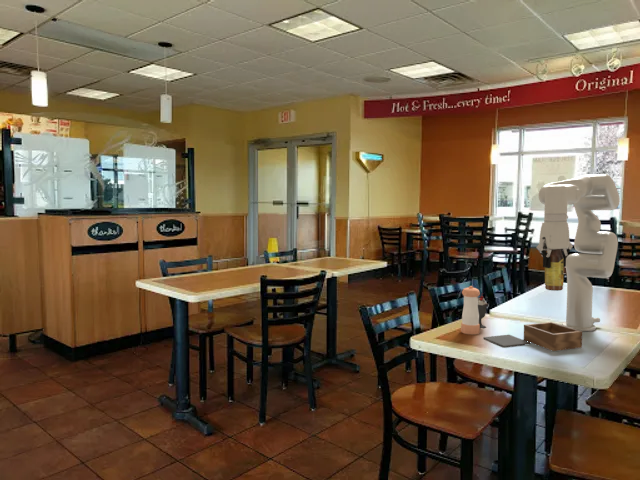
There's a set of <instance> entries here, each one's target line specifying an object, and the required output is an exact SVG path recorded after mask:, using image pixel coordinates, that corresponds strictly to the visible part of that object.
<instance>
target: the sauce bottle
mask: <svg viewBox="0 0 640 480" xmlns="http://www.w3.org/2000/svg"><path fill="white" fill-rule="evenodd" d="M549 257H551V267H550V268H545V267H544V285H545V286H544V287H545V290H548V291H554V292H555V291H563V289H564V269H565V267H563V261H564V260H563V259H564V258H563V255H562V252H561V249H557V250H552V251H551V253H550V256H549Z"/></svg>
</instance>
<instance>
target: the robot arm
mask: <svg viewBox="0 0 640 480" xmlns="http://www.w3.org/2000/svg"><path fill="white" fill-rule="evenodd" d="M538 200H539V202H540V204H542V205H544V211H543V212H544V214H543V215H544V217H543V219H544V220H543V221H544V222H541V226H540V231H539V232H540V233H539V243H538V245H537V246H536V249H537V250H538V252H539V254H540V255H541V257H543V258H542V268H544V269H545V268H550V267H551V257H549V256H550V253H551V251H552V250H557V249H561V252H562V255H563V258H564V259H563V260H564V261H563V267H564V268H565V271H566V283H567V284H566V312H565V314H566V317H565V321H564V322H562V323H561V325H563V326H566V327H569V328H572V329H576V330H579V331H582V332H592V331H595V330H596V325H594V324H596V323H600V322H601V319H600V318H599V317H593V296H594V295H593V293H594V288H593V284H592V282H591V281H590V280H589V278H596V279H597V278H599V279H608V278H610V277H612V274H613V272H614V269H615V264H616V263H615V262H616V258H617V254H618V253H617V252H618V245H619V242H618V241H619V239H618V237H617V234H615V233H614V232H612V231H603V230H602V231H600V230H601V225H602V223H601V220H600V219H599V218H598V216H597V214H595V213H594V212H593V211H614V210H617V208H618V207H619V205H620V194H619V191H618V189H617V186H616V184H615V181H614V180H613V177H611V176H610V175H609V174H606V173H602V174H601V173H600V174H582V175H579V176H577V177H574V178H570V179H565V180H561V181H556V182H550V183H547V184H544V185H543V186H541V188H540V189H539V190H538ZM569 205H574V206H573V207H574V210H575V214H576V217H577V220H578V222H577V228H576V233H575V238H574V242H573V243H574V244H572V242H570V228H569V223H568V219H569V216H568V206H569ZM573 247H574V249H575V251H577V252H575V253H570V251H571V250H572V248H573ZM569 253H570V254H569Z"/></svg>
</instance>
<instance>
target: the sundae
mask: <svg viewBox="0 0 640 480" xmlns="http://www.w3.org/2000/svg"><path fill="white" fill-rule="evenodd" d="M483 295H484V293H483V292H481V294H480V296H478V312H479V325H480V329H485V328H487V326H486V325H484V324H483V322H482V319H484V318H485V317H486V312H487V306H489V303H487V302H486V300H485V298H484V296H483Z"/></svg>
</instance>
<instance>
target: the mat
mask: <svg viewBox="0 0 640 480" xmlns="http://www.w3.org/2000/svg"><path fill="white" fill-rule="evenodd" d="M483 339H484V340H485V341H487V342H490V343H493V344H495V345H497V346H499V347H502V348H509V347H510V346H512V347H518V346H517V345H520V346H526V345H525V344H529V345H531V344H532V343H530V342H527V341H525V340H524V339H521V338H519V337H517V336H514V335H511V334H502V335H491V336H483ZM483 339H482V340H483Z"/></svg>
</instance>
